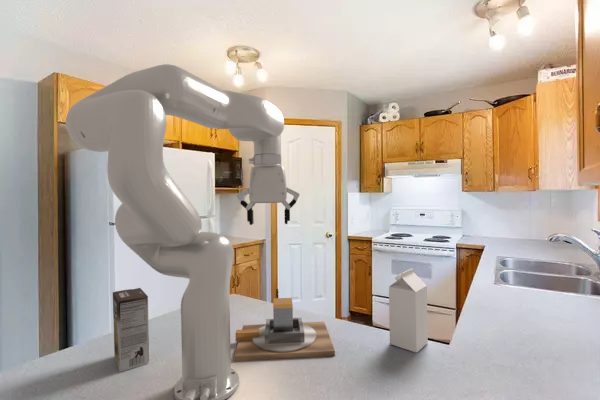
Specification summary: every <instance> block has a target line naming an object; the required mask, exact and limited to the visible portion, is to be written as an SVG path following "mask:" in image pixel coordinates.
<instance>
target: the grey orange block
mask: <svg viewBox="0 0 600 400" xmlns="http://www.w3.org/2000/svg"><path fill="white" fill-rule="evenodd" d="M292 298H293V297H281V298H278V297H275V298H273V304H272V305H273V307H272V308H273V310H272V311H273V313H272V314H273V315H272V316H273V318H272V319H274V332H293V318H294V313H293V311H294V309H293V308H294V307H293V299H292Z"/></svg>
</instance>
